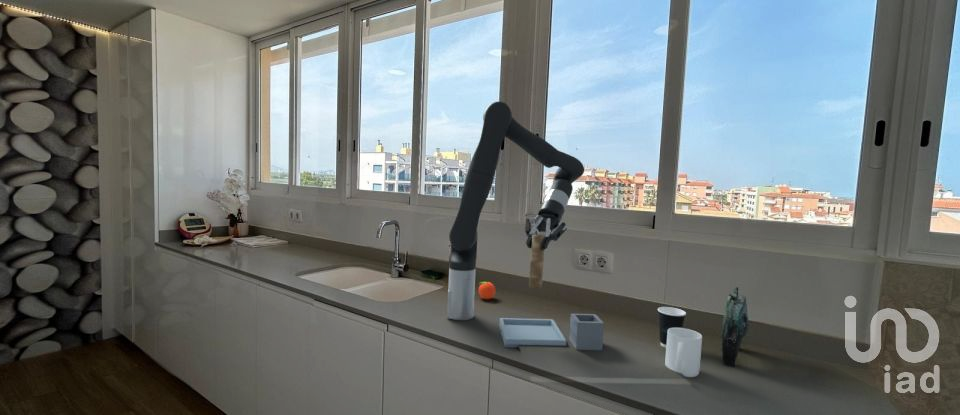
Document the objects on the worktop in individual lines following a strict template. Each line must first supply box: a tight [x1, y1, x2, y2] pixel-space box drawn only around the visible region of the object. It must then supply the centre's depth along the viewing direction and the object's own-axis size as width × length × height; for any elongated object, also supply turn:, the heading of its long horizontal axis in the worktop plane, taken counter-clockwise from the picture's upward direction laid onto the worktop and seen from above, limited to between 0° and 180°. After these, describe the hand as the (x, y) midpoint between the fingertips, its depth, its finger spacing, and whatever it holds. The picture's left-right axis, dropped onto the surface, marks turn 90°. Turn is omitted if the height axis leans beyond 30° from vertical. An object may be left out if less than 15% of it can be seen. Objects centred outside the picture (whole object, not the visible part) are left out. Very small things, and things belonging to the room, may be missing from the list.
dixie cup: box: [657, 306, 687, 349], centre depth 128 cm, size 8×8×11 cm
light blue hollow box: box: [568, 313, 605, 351], centre depth 123 cm, size 8×8×9 cm
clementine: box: [477, 281, 496, 300], centre depth 169 cm, size 8×7×7 cm
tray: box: [498, 317, 567, 349], centre depth 131 cm, size 18×18×2 cm
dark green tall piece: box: [721, 286, 749, 368], centre depth 122 cm, size 20×6×20 cm, turn 144°
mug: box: [664, 327, 703, 378], centre depth 109 cm, size 12×8×10 cm
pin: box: [528, 234, 546, 289], centre depth 129 cm, size 4×4×16 cm
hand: (535, 247), depth 127 cm, fingers closed on pin, 4 cm apart
